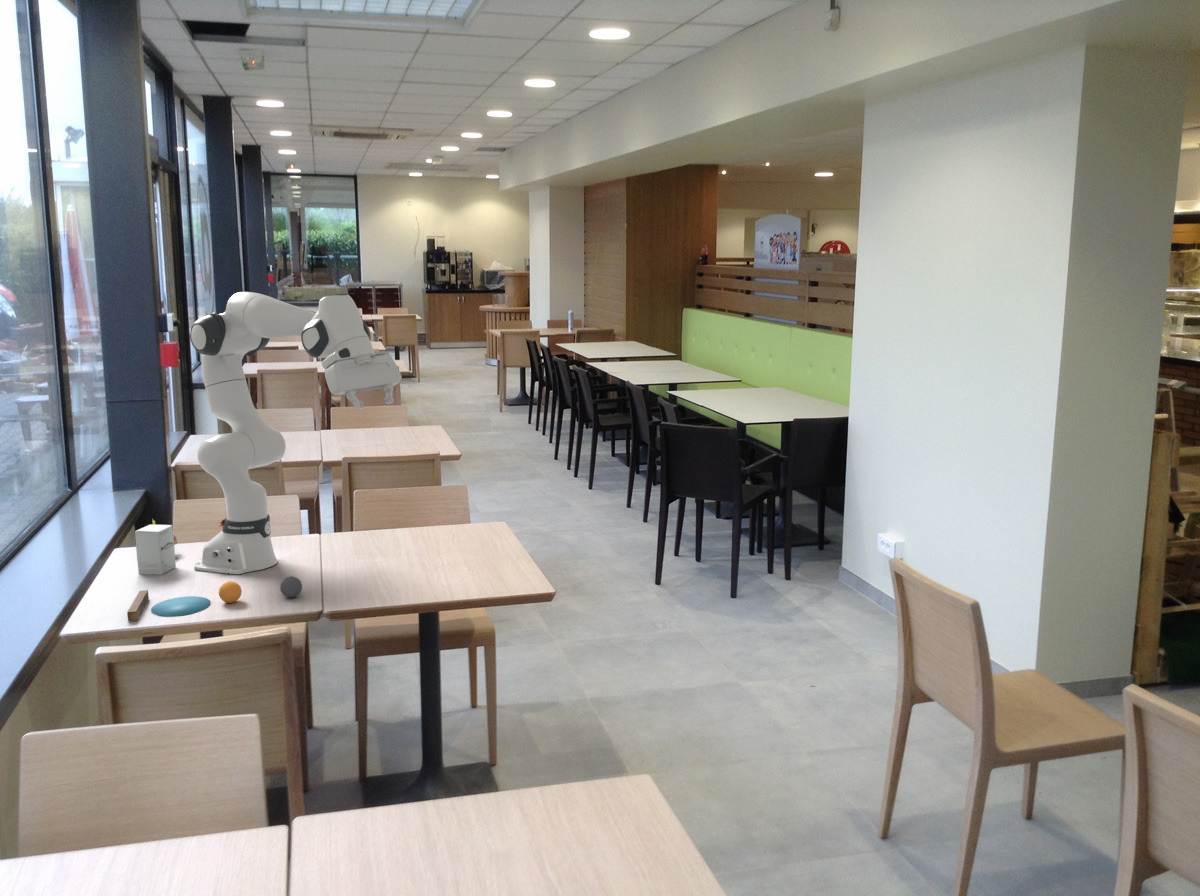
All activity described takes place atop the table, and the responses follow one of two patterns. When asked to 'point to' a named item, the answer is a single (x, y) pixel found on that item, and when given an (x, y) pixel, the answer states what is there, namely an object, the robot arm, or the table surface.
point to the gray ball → (291, 587)
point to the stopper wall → (138, 605)
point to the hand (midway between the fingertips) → (375, 405)
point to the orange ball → (230, 592)
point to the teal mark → (180, 606)
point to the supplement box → (155, 549)
